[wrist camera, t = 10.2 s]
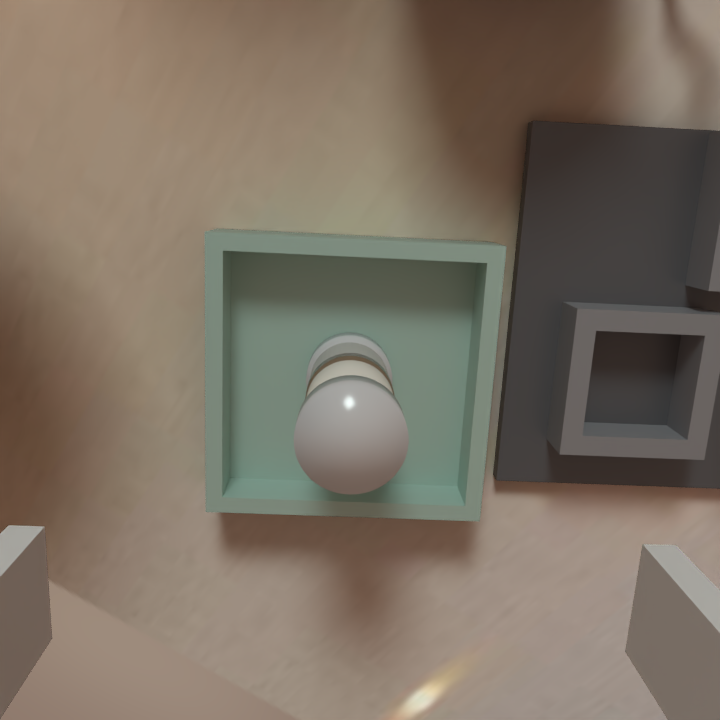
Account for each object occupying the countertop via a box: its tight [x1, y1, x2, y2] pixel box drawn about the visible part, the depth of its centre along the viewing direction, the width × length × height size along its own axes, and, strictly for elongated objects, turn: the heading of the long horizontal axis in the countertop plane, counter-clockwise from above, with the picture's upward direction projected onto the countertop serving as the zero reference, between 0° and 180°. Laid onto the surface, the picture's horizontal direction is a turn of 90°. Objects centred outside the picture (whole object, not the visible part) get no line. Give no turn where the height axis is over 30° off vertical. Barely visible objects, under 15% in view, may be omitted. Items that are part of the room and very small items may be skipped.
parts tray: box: [205, 229, 506, 521], centre depth 34 cm, size 14×14×3 cm
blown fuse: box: [294, 332, 409, 495], centre depth 30 cm, size 4×4×10 cm
